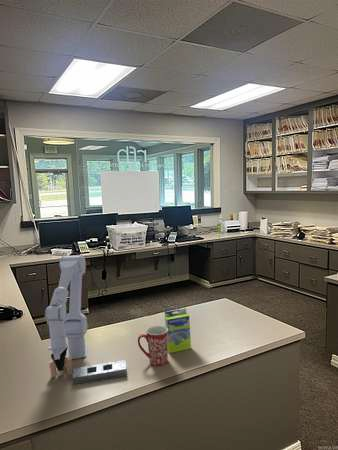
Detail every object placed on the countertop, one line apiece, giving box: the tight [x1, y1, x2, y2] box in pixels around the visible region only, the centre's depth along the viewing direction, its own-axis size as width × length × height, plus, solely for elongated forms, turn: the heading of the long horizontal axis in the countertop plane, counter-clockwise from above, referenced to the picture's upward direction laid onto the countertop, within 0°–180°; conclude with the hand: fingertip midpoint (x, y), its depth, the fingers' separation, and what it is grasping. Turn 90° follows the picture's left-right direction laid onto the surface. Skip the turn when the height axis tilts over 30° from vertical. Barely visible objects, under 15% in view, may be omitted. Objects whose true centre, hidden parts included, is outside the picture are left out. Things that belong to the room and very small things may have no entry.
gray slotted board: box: [71, 359, 128, 386], centre depth 128 cm, size 7×20×3 cm, turn 102°
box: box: [164, 307, 192, 354], centre depth 144 cm, size 11×4×17 cm, turn 108°
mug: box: [137, 325, 169, 367], centre depth 135 cm, size 13×9×14 cm
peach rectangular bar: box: [48, 356, 73, 378], centre depth 130 cm, size 2×8×6 cm, turn 102°
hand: (61, 368), depth 130 cm, fingers closed on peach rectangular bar, 2 cm apart
